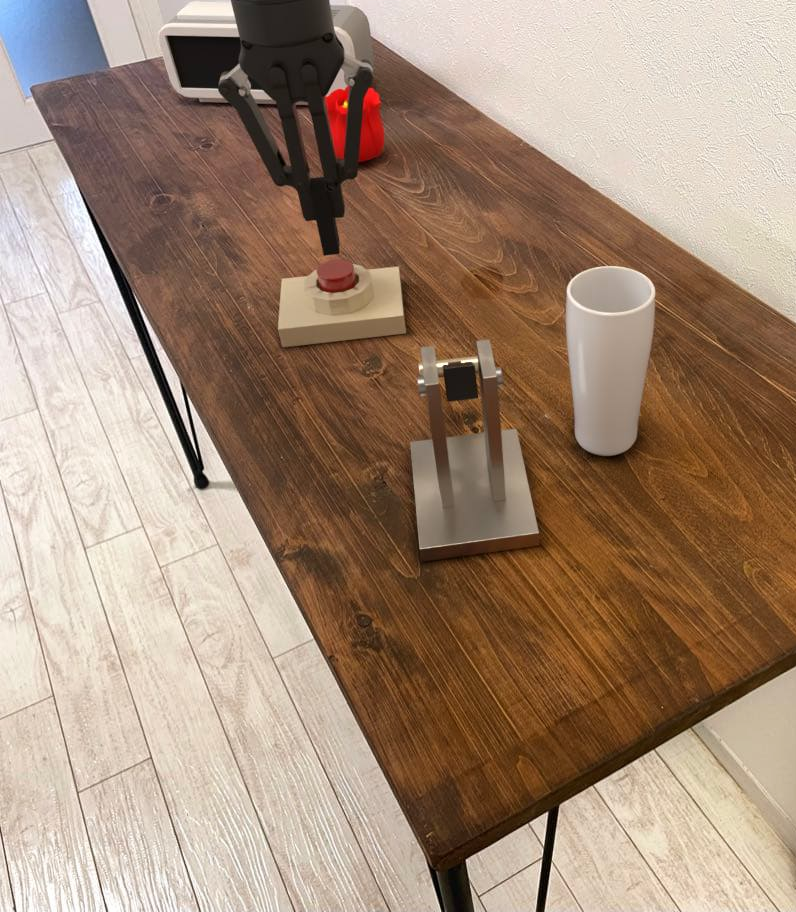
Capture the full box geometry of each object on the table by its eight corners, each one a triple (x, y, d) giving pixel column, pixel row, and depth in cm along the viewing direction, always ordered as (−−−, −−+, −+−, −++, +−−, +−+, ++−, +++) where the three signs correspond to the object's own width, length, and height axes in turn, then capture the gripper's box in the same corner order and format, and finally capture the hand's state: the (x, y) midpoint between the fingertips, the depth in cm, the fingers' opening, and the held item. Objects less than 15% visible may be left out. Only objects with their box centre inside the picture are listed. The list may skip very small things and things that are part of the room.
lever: (421, 384, 78) (417, 356, 78) (491, 376, 79) (487, 348, 78) (420, 405, 64) (415, 371, 64) (505, 395, 65) (501, 361, 65)
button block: (282, 347, 89) (273, 313, 87) (286, 296, 96) (277, 263, 93) (406, 333, 91) (401, 299, 88) (401, 284, 97) (396, 250, 94)
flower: (395, 165, 117) (386, 103, 111) (335, 177, 115) (323, 114, 110) (379, 141, 122) (370, 80, 117) (322, 151, 120) (310, 90, 115)
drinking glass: (550, 431, 80) (547, 282, 69) (613, 402, 82) (620, 255, 72) (596, 476, 76) (601, 326, 65) (661, 444, 78) (675, 294, 68)
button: (319, 296, 89) (316, 280, 88) (320, 276, 92) (316, 261, 91) (357, 292, 90) (354, 276, 89) (356, 272, 92) (353, 257, 91)
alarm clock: (176, 105, 132) (150, 18, 124) (202, 80, 139) (178, -4, 131) (361, 111, 129) (347, 22, 121) (378, 85, 136) (366, -1, 128)
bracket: (412, 454, 78) (390, 319, 69) (517, 441, 79) (509, 306, 69) (421, 562, 69) (398, 425, 60) (539, 545, 70) (534, 408, 61)
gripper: (359, -40, 75) (398, 220, 91) (196, -28, 74) (264, 234, 90) (361, -11, 70) (402, 260, 86) (185, 3, 68) (259, 276, 85)
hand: (331, 247), depth 88 cm, fingers closed
